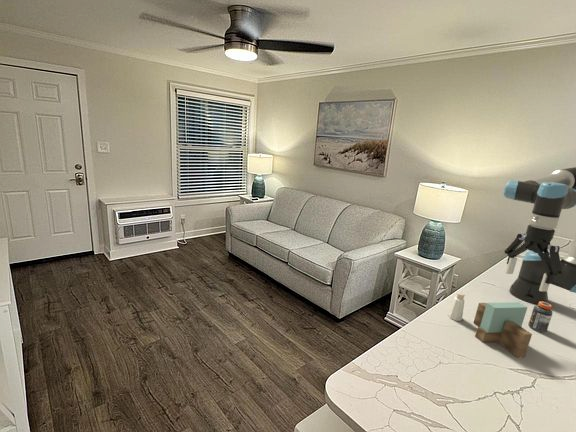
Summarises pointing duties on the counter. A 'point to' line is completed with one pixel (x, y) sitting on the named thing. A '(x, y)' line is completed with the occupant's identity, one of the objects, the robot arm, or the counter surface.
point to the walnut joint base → (504, 334)
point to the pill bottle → (540, 317)
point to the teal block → (502, 315)
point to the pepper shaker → (457, 307)
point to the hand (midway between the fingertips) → (525, 281)
